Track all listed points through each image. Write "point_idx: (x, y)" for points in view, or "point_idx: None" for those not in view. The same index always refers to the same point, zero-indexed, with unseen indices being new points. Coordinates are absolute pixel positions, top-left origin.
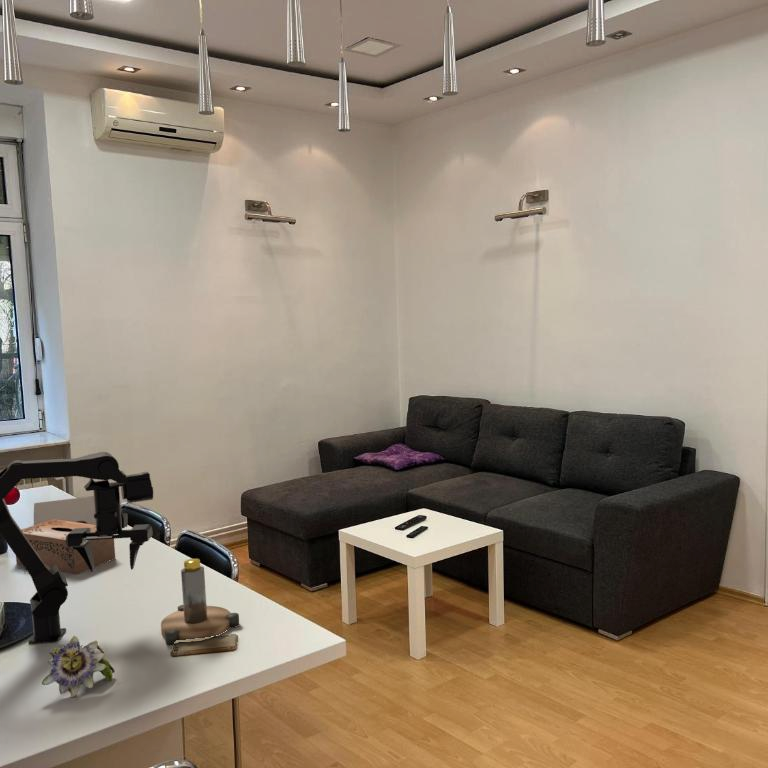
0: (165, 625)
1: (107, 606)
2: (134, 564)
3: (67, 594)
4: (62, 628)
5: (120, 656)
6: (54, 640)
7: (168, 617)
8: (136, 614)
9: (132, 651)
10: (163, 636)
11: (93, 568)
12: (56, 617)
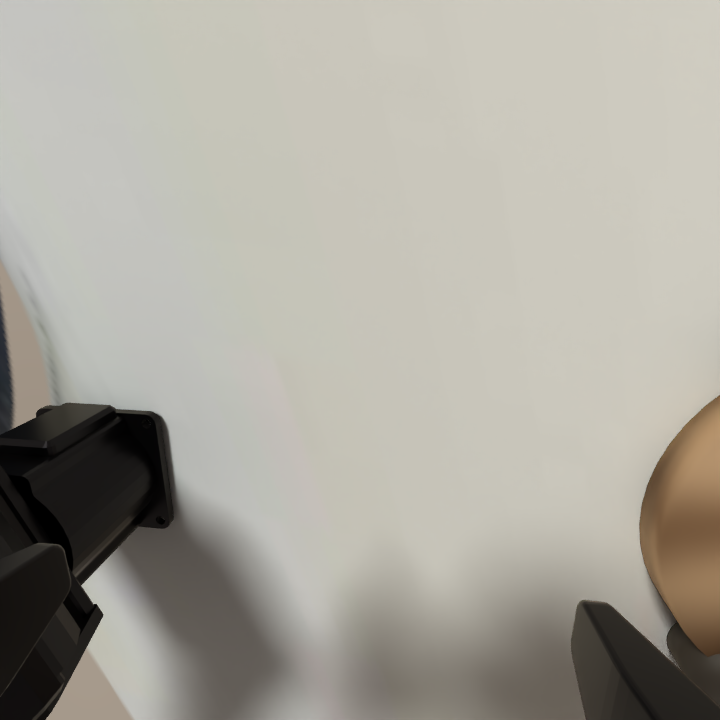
0: (689, 585)
1: (249, 93)
2: (648, 647)
3: (61, 686)
4: (137, 415)
5: (478, 694)
6: (161, 526)
7: (706, 487)
8: (466, 265)
9: (520, 670)
10: (654, 584)
11: (38, 595)
12: (95, 547)
